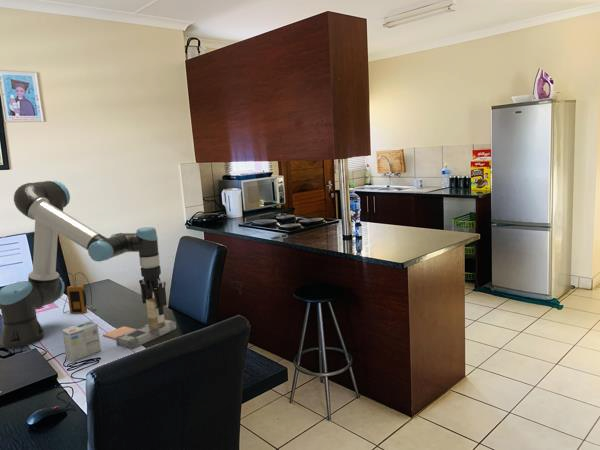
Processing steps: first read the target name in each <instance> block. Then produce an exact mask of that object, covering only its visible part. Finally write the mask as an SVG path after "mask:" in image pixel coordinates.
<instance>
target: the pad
mask: <svg viewBox="0 0 600 450" xmlns="http://www.w3.org/2000/svg"><path fill="white" fill-rule="evenodd" d="M135 329H136V328H132V327H129V326H124V325H123V326H121V327H118V328H116V329H113V330H110V331H107V332H105V333H103V334H102V337H105V338H109V339H112V340H115V341H116V337H118V336H121V335H123V334H125V333H128V332H130V331H133V330H135Z"/></svg>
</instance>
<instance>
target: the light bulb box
mask: <svg viewBox="0 0 600 450" xmlns="http://www.w3.org/2000/svg"><path fill="white" fill-rule="evenodd" d="M61 333H62V338H63V345H64V352H65V356H66V358H67V359H69V360H71V361H72V362H74V361H77V360H80V359H83V358H84V357H85V358H86V357H88V356H90V355H92V354H96V353H98V352H100V351H101V350H102V349H101V348H102V347H101V341H100V334H99V326H98V323H95V322H94V321H90V320H88V321H86V322H82V323H80V324H79V323H78V324H76V325H74V326H70V327H67V328H63V329H61Z"/></svg>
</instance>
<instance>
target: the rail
mask: <svg viewBox="0 0 600 450" xmlns="http://www.w3.org/2000/svg"><path fill="white" fill-rule="evenodd" d="M164 320H165V325H163V326H161V327H158V328H152V327H149V323H147V324H145V325H143V326H141V327H137V328H134V329H135V330H133V331H130V332H128V333H125V334H123V335H121V336H118V337H116V340H115V341H116V345H117V346H120V347H123V348H127V349H131V350H132V349H135V348H137V347H140V346H142V345H143V344H146V343H149V342H150V341H153V340H155V339H157V338H160V337H161V336H163V335H165V334H168V333H171V332H173V331H175V330H176V329H177V322H176V321H173V320H169V319H165V318H164Z"/></svg>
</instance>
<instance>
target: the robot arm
mask: <svg viewBox="0 0 600 450" xmlns="http://www.w3.org/2000/svg"><path fill="white" fill-rule="evenodd" d="M70 201H71V195H70V192H69V190H68V188H67V187H66V185H64V184H63V183H62V182H61V181H57V180H46V181H37V182H36V181H35V182H27V183H25V184H21V185H19V187H17V188H16V190H15V191H14V195H13V203H14V206H15V207H16V209H17V210H18V211H19V212H20V214H22V215H24V216H25V217H27V218H29V219H30V220H33V221H34V237H33V258H32V259H33V260H32V271H31V272H30V273H29V274H28V279H27V280H28V281H27V280H23V281H16V282H13V283H10V284H8V285H7V284H6V285H5V286H4V287H2V288H0V311H1V312H0V313H1V318H2V323H3V328H2V333H1V338H0V344H1V345H0V346H1V347H2V348H5V349H16V348H22V347H27V346H30V345H32V344H35V343H37V342H39V341H41V340H43V339H44V338H45V331H44V329H43V327H42V325H41V324H40V322H39V320H38V318H37V317H38V316H37V310H38V309H42V308H43V307H45V306H47V305H50V304H53V303H55V302H56V301H58V300H60V299H61V298H62V296H63V294H64V292H65V289H66V286H65V281H63V279H62V277H61V276H60V273H59V272H57V271H56V270H57V253H58V233H59V234H60V235H62V236H64V237H65V238H67V239H69V240H70V241H72V242H73V243H75V244H77V245H78V246H80V247H82V248H83V249H84V250H86V251H87V253H88V256H89V257H90V259H91V260H92V261H94V262H98V263H99V262H103V261H108V260H110V259H112V258H115V257H117V256H120V255H123V254H126V253H131V252H132V253H137V252H138V256H139V266H140V267H141V268H140V273H141V277H143V279H140V280H139V281H138V282H139V285H140V292H141V293H140V294H141V301H142V304H144V305H145V306H146V307H147V305H146V300H148V299H151V298H154V297H155V300H156V304H157V307H156V314H157V323H161V322H163V321H164V319H165V316H164V317H163V314H164V315H165V313H164V312H165V311H163V310H164V307H165V306H167V305H168V304H167V295H166V294H167V293H166V284H167V283H166V281H164V282H163V281H162V280H161V277H160V276H161V274H162V271H161V265H160V264H161V262H160V254H159V253H160V252H159V243H158V233H157V230H156V228H155V227H152V226H149V227H148V226H147V227H139V228H137V229H136V232H133V233H131V232H130V233H128V232H126V233H125V232H124V233H123V232H119V233H113V234H111V235H110V236H109V237H106V236H104V235H102V234H101V233H99V232H97V231H96V230H94V229H92V228H91V227H89V226H88V225H86V224H84V223H82V222H81V221H80V220H78V219H76V218H74V217H73V216H71V215H69V214H68V213H66V212H64V208H65V207H67V205H68V204H69V203H70ZM153 296H154V297H153Z"/></svg>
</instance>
